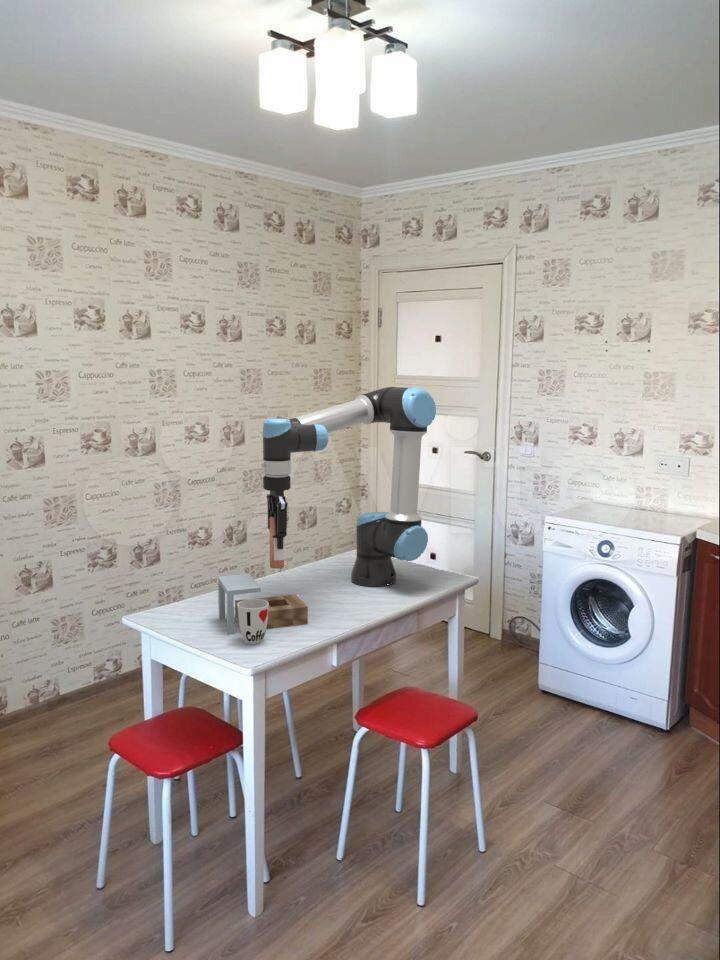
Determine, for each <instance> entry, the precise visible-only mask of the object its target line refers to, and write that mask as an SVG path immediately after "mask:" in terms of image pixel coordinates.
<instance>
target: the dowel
mask: <svg viewBox="0 0 720 960" xmlns="http://www.w3.org/2000/svg"><path fill="white" fill-rule="evenodd" d="M273 536H275V522H274V517H270V531H269V568H270V569H283V568H285V559H284V560H274V538H273Z"/></svg>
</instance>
